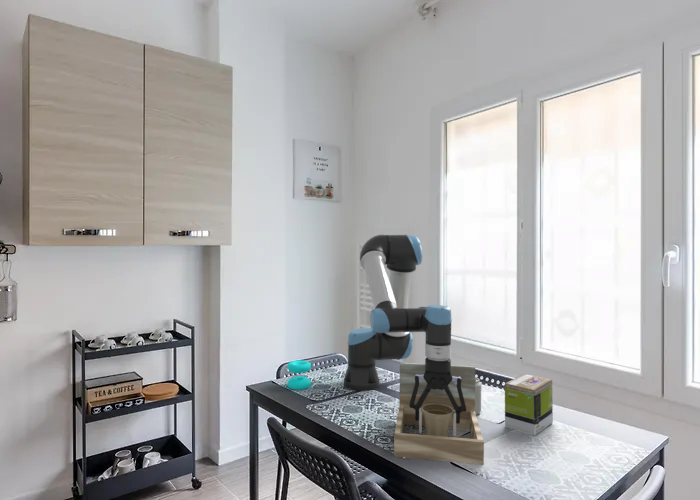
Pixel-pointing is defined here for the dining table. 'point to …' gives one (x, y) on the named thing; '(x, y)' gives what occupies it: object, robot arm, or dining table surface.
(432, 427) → the flower pot
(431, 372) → the robot arm
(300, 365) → the donuts
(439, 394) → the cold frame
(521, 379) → the tea box
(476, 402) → the can
